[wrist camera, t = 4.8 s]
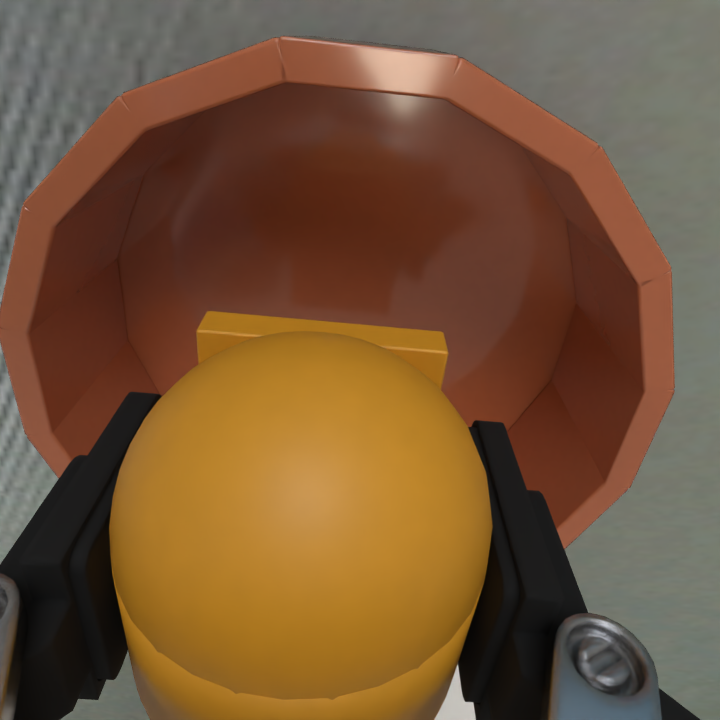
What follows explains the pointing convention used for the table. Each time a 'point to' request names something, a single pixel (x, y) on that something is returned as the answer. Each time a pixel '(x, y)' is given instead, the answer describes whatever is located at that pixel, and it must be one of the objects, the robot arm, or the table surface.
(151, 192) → the orange faceted round container
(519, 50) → the table surface
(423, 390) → the orange ribbed oval piece
